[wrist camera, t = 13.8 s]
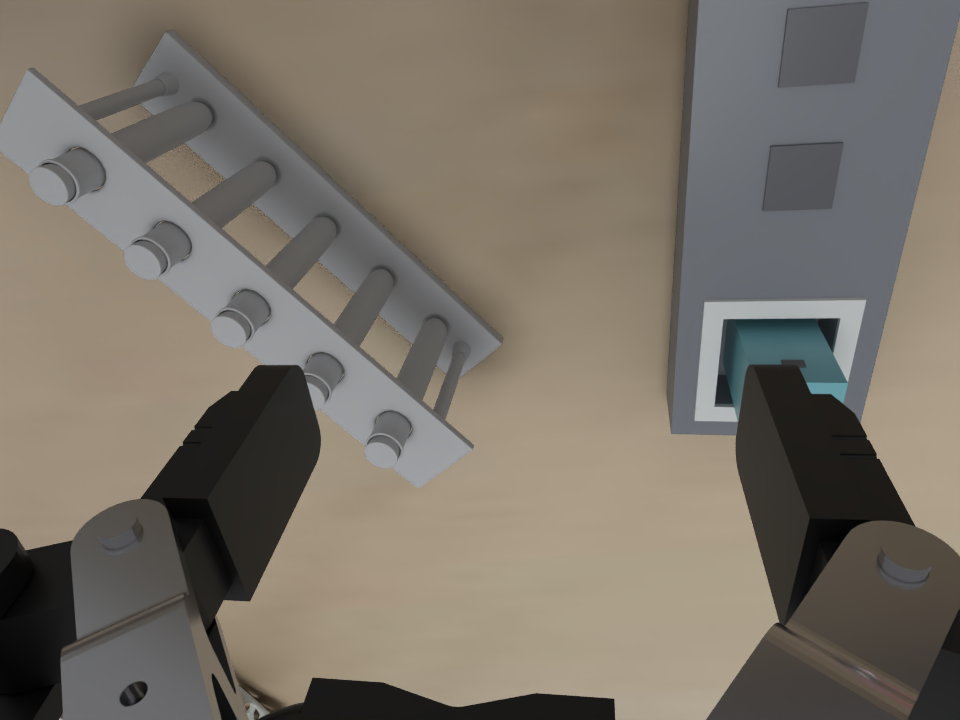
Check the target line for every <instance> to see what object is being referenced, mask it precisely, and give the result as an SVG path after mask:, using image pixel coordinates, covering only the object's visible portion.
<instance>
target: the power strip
mask: <svg viewBox="0 0 960 720" xmlns="http://www.w3.org/2000/svg"><path fill="white" fill-rule="evenodd" d="M959 18H960V0H689V9H688V26H687V44H686V61H685V79H684V97H683V114H682V132H681V149H680V167H679V184H678V202H677V219H676V237H675V255H674V272H673V290H672V307H671V325H670V342H669V360H668V378H667V403H668V411H669V419H670V428H671V434H700V435H736V434H737V427H738V420H737V416H736V412H735V409H734V405H733V401H732V397H731V393H730V389H729V385H728V381H727V377H726V373H725V369H724V365H723V355H724V346H725V337H726V327H727V319H800V318H815V320H816V322H817V324H818V326H819V328H820V330H821V332H822V333H823V335H824V337H825V339H826V341H827V343H828V345H829V347H830V349H831V351H832V353H833V355H834V357H835V359H836V361H837V363H838V365H839V366H840V368H841V370H842V372H843V374H844V376H845V378H846V380H847V382H848V385H847V390H846V394H845V398H844V403H843V404H844V405H845V406H846V407H848V408H849V409H850V410H851V411H853V412H854V413H855V415H856V416H857V418H858V420H859V422H861V418H862V414H863V410H864V406H865V401H866V397H867V393H868V389H869V385H870V381H871V377H872V373H873V369H874V365H875V361H876V357H877V352H878V348H879V344H880V340H881V336H882V332H883V328H884V324H885V320H886V316H887V312H888V308H889V303H890V299H891V295H892V291H893V287H894V283H895V279H896V275H897V271H898V267H899V263H900V259H901V254H902V250H903V246H904V242H905V238H906V234H907V230H908V226H909V222H910V218H911V214H912V210H913V205H914V201H915V197H916V193H917V189H918V185H919V181H920V177H921V173H922V169H923V165H924V161H925V156H926V152H927V148H928V144H929V140H930V136H931V132H932V128H933V124H934V120H935V116H936V112H937V107H938V103H939V99H940V95H941V91H942V87H943V83H944V79H945V75H946V71H947V67H948V63H949V58H950V54H951V50H952V46H953V42H954V38H955V34H956V30H957V26H958V22H959Z"/></svg>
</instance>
